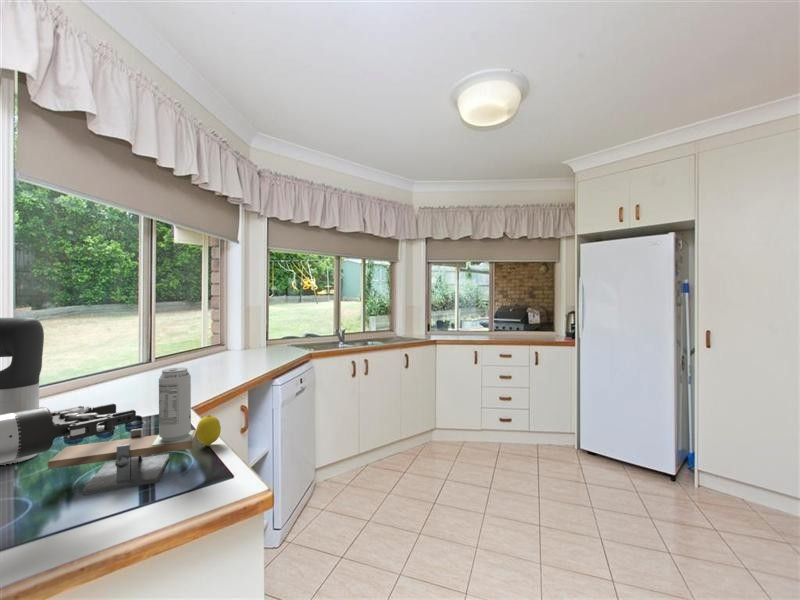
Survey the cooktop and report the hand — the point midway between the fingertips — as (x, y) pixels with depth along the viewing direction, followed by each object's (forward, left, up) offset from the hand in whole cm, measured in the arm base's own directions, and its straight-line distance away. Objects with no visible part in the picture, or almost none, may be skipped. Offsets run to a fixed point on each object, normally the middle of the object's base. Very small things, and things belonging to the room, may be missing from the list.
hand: (124, 411), depth 73 cm
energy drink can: (-5, +8, -8) cm, 13 cm away
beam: (-6, 0, -10) cm, 11 cm away
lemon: (-17, +14, -15) cm, 26 cm away
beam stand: (-6, 0, -15) cm, 16 cm away
